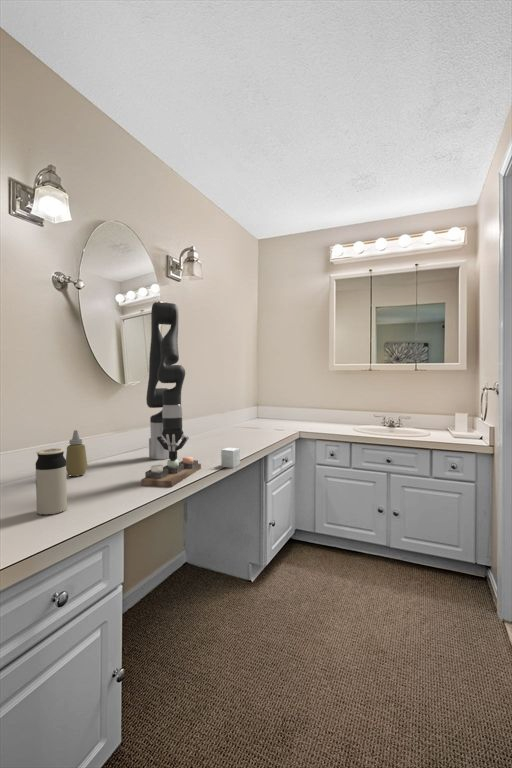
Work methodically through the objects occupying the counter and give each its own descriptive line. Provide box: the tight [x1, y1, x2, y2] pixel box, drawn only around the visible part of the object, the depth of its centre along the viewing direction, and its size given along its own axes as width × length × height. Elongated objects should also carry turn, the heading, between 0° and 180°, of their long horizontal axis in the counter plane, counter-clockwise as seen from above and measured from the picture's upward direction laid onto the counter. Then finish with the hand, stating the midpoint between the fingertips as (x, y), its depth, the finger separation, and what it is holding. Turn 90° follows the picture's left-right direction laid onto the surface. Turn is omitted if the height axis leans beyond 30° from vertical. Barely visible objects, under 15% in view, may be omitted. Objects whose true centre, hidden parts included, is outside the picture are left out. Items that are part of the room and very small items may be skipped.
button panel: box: [140, 459, 202, 488], centre depth 157 cm, size 12×28×4 cm, turn 166°
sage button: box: [166, 458, 180, 468], centre depth 157 cm, size 4×4×3 cm
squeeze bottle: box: [65, 429, 88, 476], centre depth 160 cm, size 8×8×18 cm
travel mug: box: [35, 447, 68, 515], centre depth 118 cm, size 8×8×18 cm
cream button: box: [150, 464, 164, 473], centre depth 149 cm, size 4×4×3 cm
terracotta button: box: [182, 456, 194, 463], centre depth 164 cm, size 4×4×3 cm
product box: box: [220, 447, 241, 469], centre depth 173 cm, size 6×6×7 cm
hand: (173, 460), depth 156 cm, fingers closed
